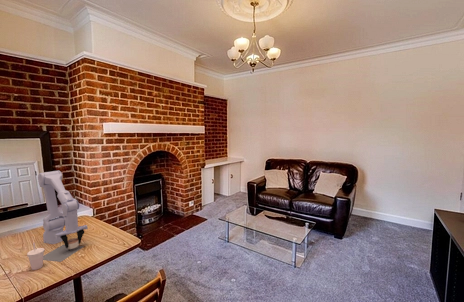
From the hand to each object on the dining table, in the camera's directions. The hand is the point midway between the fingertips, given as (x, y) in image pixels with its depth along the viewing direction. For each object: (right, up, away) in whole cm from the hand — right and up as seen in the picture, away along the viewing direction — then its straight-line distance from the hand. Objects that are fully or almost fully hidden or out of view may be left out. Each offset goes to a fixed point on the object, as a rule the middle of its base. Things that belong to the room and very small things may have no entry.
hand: (73, 245), depth 122 cm
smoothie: (-6, -5, -16) cm, 18 cm away
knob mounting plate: (-4, -4, -3) cm, 6 cm away
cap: (0, -1, 0) cm, 1 cm away
